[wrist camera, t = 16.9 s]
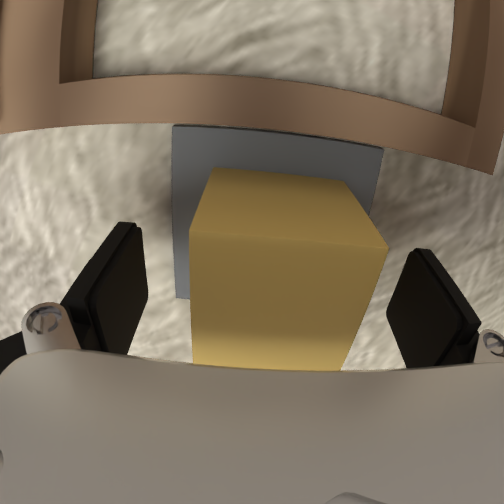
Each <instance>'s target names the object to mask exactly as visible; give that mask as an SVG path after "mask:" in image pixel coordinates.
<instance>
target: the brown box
mask: <svg viewBox="0 0 504 504" xmlns="http://www.w3.org/2000/svg"><path fill="white" fill-rule="evenodd" d="M97 2H98V0H0V134H6V133H12V132H20V131H27V130H36V129H45V128H54V127H66V126H79V125H95V124H118V123H186V124H210V125H227V126H241V127H253V128H264V129H274V130H283V131H291V132H299V133H307V134H314V135H321V136H328V137H334V138H340V139H346V140H352V141H358V142H363V143H368V144H373V145H378V146H383V147H388V148H393V149H398V150H402V151H406V152H411V153H415V154H419V155H423V156H427V157H431V158H435V159H439V160H443V161H447V162H450V163H454V164H457V165H461V166H464V167H468V168H471V169H474V170H478V171H481V172H484V173H487V174H490V175H493V172H494V168H495V165H496V161H497V157H498V153H499V149H500V145H501V141H502V137H503V132H504V0H455V12H454V27H453V38H452V48H451V57H450V65H449V72H448V79H447V85H446V91H445V97H444V103H443V108H442V114H441V115H440V114H437V113H434V112H431V111H428V110H424V109H421V108H418V107H414V106H411V105H407V104H404V103H400V102H396V101H393V100H389V99H385V98H381V97H377V96H372V95H368V94H363V93H359V92H354V91H349V90H344V89H339V88H334V87H328V86H322V85H316V84H310V83H303V82H296V81H289V80H280V79H272V78H262V77H251V76H237V75H219V74H143V75H126V76H113V77H102V78H93V79H92V76H93V49H94V33H95V21H96V11H97Z"/></svg>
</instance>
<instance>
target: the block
mask: <svg viewBox="0 0 504 504" xmlns="http://www.w3.org/2000/svg"><path fill="white" fill-rule="evenodd" d="M388 251H389V247H388V246H387V244H386V243H385V241H384V239H383V238H382V236H381V235H380V233H379V232H378V230H377V229H376V227H375V226H374V224H373V223H372V221H371V220H370V218H369V217H368V215H367V214H366V212H365V211H364V209H363V208H362V206H361V205H360V203H359V202H358V201H357V199H356V198H355V196H354V195H353V193H352V192H351V191H350V189H349V188H348V186H347V185H346V184H345V182H344V181H340V180H332V179H325V178H317V177H309V176H301V175H293V174H284V173H274V172H264V171H254V170H242V169H230V168H217V167H213V169H212V172H211V174H210V177H209V179H208V182H207V184H206V187H205V190H204V192H203V195H202V197H201V200H200V202H199V205H198V208H197V210H196V213H195V216H194V218H193V221H192V224H191V226H190V229H189V274H190V309H191V333H192V353H193V363H195V364H205V365H216V366H228V367H241V368H258V369H278V370H316V371H340V370H341V367H342V365H343V363H344V361H345V359H346V357H347V354H348V352H349V350H350V348H351V346H352V343H353V341H354V339H355V336H356V334H357V332H358V329H359V327H360V325H361V322H362V320H363V317H364V315H365V312H366V310H367V307H368V305H369V302H370V300H371V297H372V295H373V292H374V290H375V287H376V284H377V282H378V279H379V276H380V273H381V271H382V268H383V265H384V262H385V259H386V256H387V254H388Z"/></svg>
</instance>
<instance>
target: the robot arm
mask: <svg viewBox="0 0 504 504" xmlns="http://www.w3.org/2000/svg"><path fill="white" fill-rule="evenodd" d="M147 300H148V285H147V277H146V268H145V259H144V249H143V238H142V230H141V228H140V227H137V225H136V223H132V222H118V223H117V225H116V226H115V227H114V228H113V230H112V231H111V232H110V234H109V235H108V236H107V238H106V239H105V240H104V242H103V243H102V244H101V246H100V247H99V249H98V250H97V251H96V253H95V254H94V256H93V257H92V258H91V259H90V260H89V261H88V263H87V264H86V266H85V267H84V269H83V270H82V271H81V273H80V274H79V276H78V277H77V279H76V280H75V282H74V283H73V285H72V286H71V288H70V289H69V291H68V292H67V294H66V295H65V297H64V298H63V300H62V301H61V303H60V304H57V303H54V302H46V303H42V304H39V305H36V306H34V307H33V308H31V309H30V310H29V311H28V312H27V313H26V314H25V315H24V317H23V320H22V326H21V328H22V331H21V332H19V333H17V334H14V335H12V336H10V337H7V338H5V339H3V340H0V504H504V337H503V336H502V335H501V334H500V333H498V332H496V331H494V330H490V329H486V330H483V331H482V332H481V333H480V334H479V333H478V331H477V330H478V328H479V327H480V325H481V321H480V319H479V318H478V316H477V315H476V313H475V312H474V310H473V309H472V307H471V306H470V304H469V303H468V301H467V300H466V298H465V297H464V295H463V294H462V292H461V291H460V289H459V288H458V286H457V285H456V284H455V282H454V281H453V279H452V278H451V277H450V275H449V274H448V272H447V271H446V270H445V268H444V267H443V266H442V264H441V263H440V262H439V260H438V259H437V258H436V256H435V255H434V254H433V252H432V251H431V250H430V249H422V248H415V249H414V250H413V251H411V252H410V253H409V255H408V257H407V260H406V263H405V265H404V268H403V271H402V273H401V276H400V278H399V281H398V283H397V286H396V288H395V291H394V293H393V295H392V298H391V300H390V302H389V305H388V307H387V311H386V316H387V319H388V322H389V324H390V327H391V329H392V332H393V334H394V337H395V339H396V342H397V344H398V347H399V349H400V352H401V354H402V357H403V360H404V362H405V365H406V368H405V369H385V370H347V371H316V370H278V369H258V368H241V367H228V366H216V365H205V364H195V363H186V362H177V361H169V360H160V359H153V358H145V357H138V356H131V355H127V353H128V351H129V348H130V345H131V342H132V340H133V337H134V334H135V332H136V329H137V326H138V324H139V321H140V318H141V316H142V313H143V310H144V308H145V305H146V303H147Z"/></svg>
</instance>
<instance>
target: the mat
mask: <svg viewBox="0 0 504 504" xmlns="http://www.w3.org/2000/svg"><path fill="white" fill-rule="evenodd" d="M383 153H384V149H382V148H381V147H376V146H371V145H366V144H360V143H355V142H349V141H343V140H337V139H331V138H324V137H317V136H310V135H303V134H295V133H287V132H278V131H269V130H258V129H247V128H234V127H219V126H199V125H174V126H172V227H173V253H174V273H175V289H176V298H181V299H190V274H189V229H190V226H191V224H192V221H193V218H194V216H195V213H196V210H197V208H198V205H199V202H200V200H201V197H202V195H203V192H204V190H205V187H206V184H207V182H208V179H209V177H210V174H211V172H212V169H213V167H217V168H230V169H242V170H254V171H264V172H274V173H284V174H293V175H301V176H309V177H317V178H325V179H332V180H340V181H344V182H345V184H346V185H347V186H348V188H349V189H350V191H351V192H352V193H353V195H354V196H355V198H356V199H357V201H358V202H359V203H360V205H361V206H362V208H363V209H364V211H365V212H366V214H367V215H368V216H369V212H370V208H371V204H372V200H373V196H374V192H375V188H376V184H377V180H378V175H379V171H380V167H381V162H382V158H383Z"/></svg>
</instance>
